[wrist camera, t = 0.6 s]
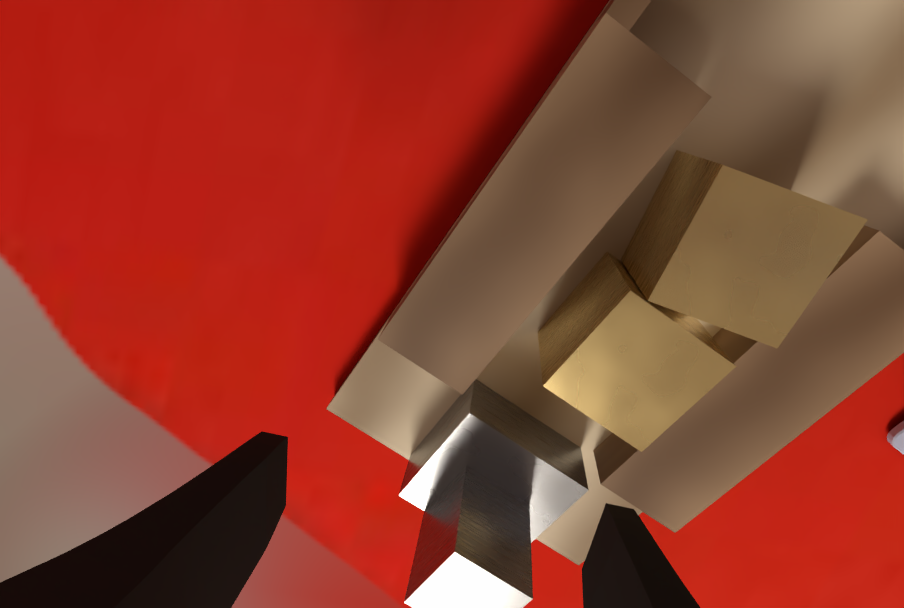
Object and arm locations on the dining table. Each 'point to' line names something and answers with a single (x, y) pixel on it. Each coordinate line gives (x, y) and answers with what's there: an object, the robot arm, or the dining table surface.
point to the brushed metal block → (486, 501)
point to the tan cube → (627, 356)
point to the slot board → (617, 217)
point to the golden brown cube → (735, 248)
